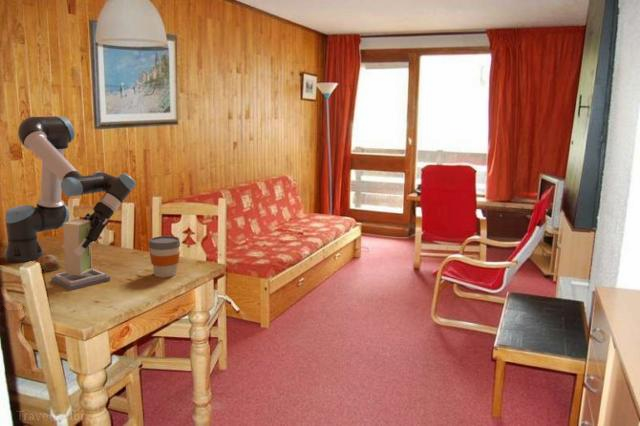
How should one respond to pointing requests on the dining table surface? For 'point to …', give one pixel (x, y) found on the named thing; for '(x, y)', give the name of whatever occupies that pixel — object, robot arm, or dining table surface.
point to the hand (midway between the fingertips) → (70, 251)
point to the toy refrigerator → (72, 239)
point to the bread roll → (48, 263)
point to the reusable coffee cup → (164, 255)
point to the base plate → (79, 279)
